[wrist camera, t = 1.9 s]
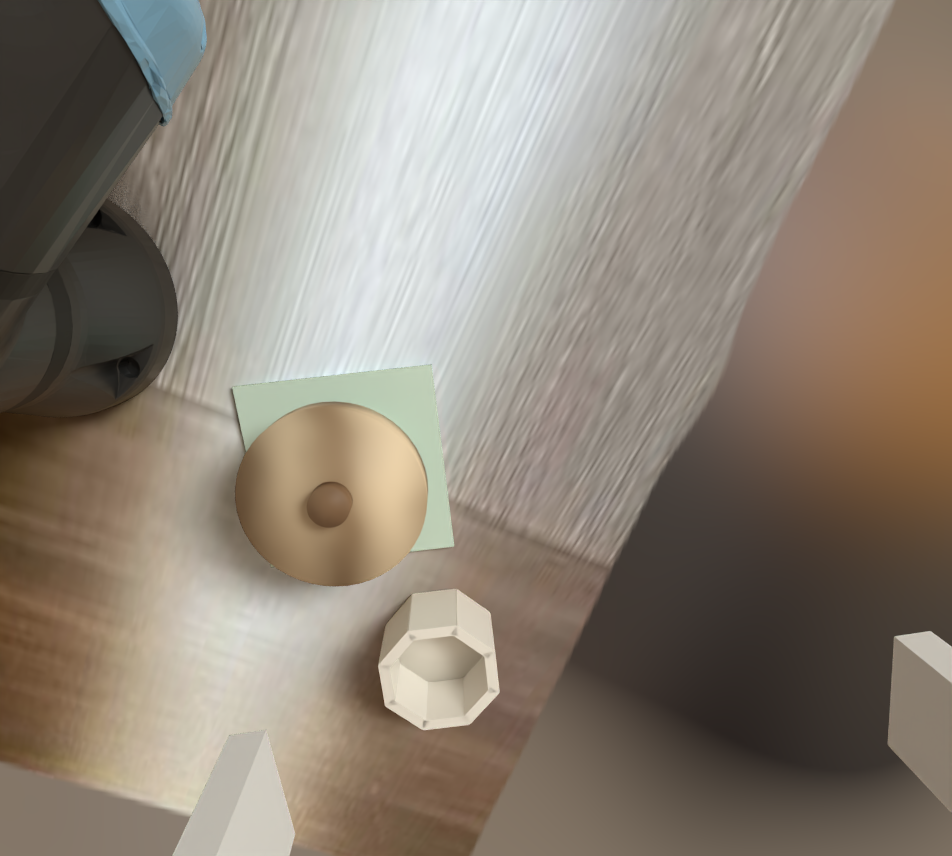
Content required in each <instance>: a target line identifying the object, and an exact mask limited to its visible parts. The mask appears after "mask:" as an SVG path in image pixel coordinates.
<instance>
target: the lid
mask: <svg viewBox="0 0 952 856" xmlns="http://www.w3.org/2000/svg"><path fill="white" fill-rule="evenodd" d="M427 500H428V479H427V475H426V470H425V466H424V463H423V461H422V458H421V456H420V454H419V452H418V450H417V448H416V446H415V445H414V444H413V442H412V441H411V439H410V438H409V437H408V436H407V434H406V433H405V432H404V431H403V430H402V429H401V428H400V427H399V426H397V425H396V424H395V423H394V422H393V421H391V420H390V419H388V418H387V417H385V416H384V415H382V414H380V413H378V412H376V411H374V410H372V409H370V408H367V407H364V406H361V405H357V404H352V403H347V402H336V401H333V402H320V403H314V404H309V405H306V406H303V407H300V408H297V409H295V410H293V411H291V412H289V413H287V414H285V415H284V416H282V417H281V418H279V419H278V420H277V421H275V422H274V423H273V424H272V425H271V426H269V427H268V428H267V429H266V430H265V431H264V432H262V433H261V434H260V435H259V436H258V437H257V438H256V440H255V441H254V442H253V443H252V444H251V446H250V447H249V449H248V450H247V452H246V453H245V455H244V457H243V460H242V462H241V464H240V467H239V470H238V474H237V478H236V486H235V501H236V508H237V513H238V516H239V520H240V523H241V525H242V528H243V530H244V532H245V534H246V536H247V537H248V539H249V541H250V542H251V544H252V545H253V546H254V548H255V549H256V550H257V551H258V552H259V554H260V555H261V556H263V557H264V558H265V559H266V560H267V561H268V562H269V563H270V564H272V565H273V566H274V567H276V568H277V569H279V570H280V571H282V572H284V573H285V574H287V575H289V576H291V577H294V578H296V579H298V580H301V581H305V582H308V583H311V584H317V585H323V586H348V585H353V584H359V583H362V582H366V581H369V580H372V579H374V578H376V577H378V576H381V575H382V574H384V573H386V572H387V571H389V570H391V569H392V568H393V567H394V566H396V565H397V564H398V563H399V562H400V561H401V560H402V559H403V558H404V557H405V556H406V555H407V554H408V553H409V552H410V550H411V549H412V547H413V546H414V545H415V543H416V541H417V539H418V537H419V535H420V533H421V530H422V528H423V525H424V521H425V516H426V510H427Z"/></svg>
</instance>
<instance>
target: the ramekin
mask: <svg viewBox="0 0 952 856" xmlns="http://www.w3.org/2000/svg"><path fill="white" fill-rule="evenodd" d="M378 668H379V674H380V679H381V685H382V691H383V697H384V703H385V706H386V707H387V708H389V709H390V710H392V711H393V712H395V713H397V714H398V715H400V716H401V717H403V718H404V719H406V720H408V721H409V722H411V723H412V724H414V725H416V726H417V727H419V728H420V729H422V730H429V729H438V728H446V727H454V726H462V725H469V724H471V723H472V722H473V721H474V720H475V718H476V717H477V716H478V715H479V714H480V713H481V712H482V711H483V710H484V709H485V708H486V707H487V706H488V705H489V703H490V702H491V701H492V700H493V699H494V698H495V697H496V696H497V695H498V694H499V692H500V691H499V682H498V674H497V665H496V656H495V647H494V639H493V630H492V622H491V614H490V612H489V611H488V610H486V609H485V608H483V607H482V606H480V605H479V604H478V603H476V602H475V601H473V600H472V599H470V598H469V597H468V596H466V595H465V594H463V593H462V592H460V591H459V590H458V589H448V590H440V591H431V592H423V593H414V594H412V595H411V596H410V597H409V598H408V599H407V600H406V602H405V603H404V604H403V605H402V606H401V607H400V609H399V610H398V611H397V612H396V613H395V614H394V616H393V617H392V618H391V619H390V620H389V621H388V623H387V624H386V626H385V631H384V637H383V642H382V648H381V653H380V658H379V664H378Z"/></svg>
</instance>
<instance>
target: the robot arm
mask: <svg viewBox="0 0 952 856" xmlns="http://www.w3.org/2000/svg"><path fill="white" fill-rule="evenodd" d="M206 42H207V38H206V26H205V19H204V16H203V13H202V10H201V8H200V4H199V1H198V0H0V413H2V412H7V413H16V414H26V415H35V416H44V417H74V416H81V415H87V414H91V413H95V412H98V411H101V410H104V409H107V408H109V407H112V406H115V405H117V404H120V403H122V402H124V401H126V400H128V399H130V398H132V397H134V396H135V395H137V394H138V393H140V392H141V391H142V390H144V389H145V388H146V387H147V386H148V385H149V384H150V383H151V382H152V381H153V380H154V379H155V378H156V377H157V375H158V374H159V373H160V371H161V370H162V368H163V367H164V365H165V363H166V362H167V360H168V357H169V355H170V353H171V350H172V348H173V344H174V341H175V336H176V331H177V321H178V310H177V299H176V293H175V288H174V284H173V281H172V278H171V275H170V272H169V270H168V267H167V265H166V263H165V261H164V259H163V257H162V255H161V253H160V251H159V250H158V248H157V246H156V245H155V243H154V242H153V241H152V239H151V238H150V237H149V235H148V234H147V233H146V231H145V230H144V229H143V228H142V227H141V226H140V225H139V224H138V223H137V222H136V221H135V220H134V219H133V218H132V217H131V216H130V215H129V214H127V213H126V212H125V211H124V210H123V209H121V208H120V207H119V206H117V205H116V204H114V203H113V202H111V201H110V200H108V199H107V197H108V196H109V195H110V193H111V192H112V190H113V189H114V187H115V186H116V185H117V183H118V182H119V180H120V179H121V177H122V176H123V175H124V173H125V172H126V170H127V169H128V167H129V166H130V165H131V163H132V162H133V160H134V159H135V158H136V156H137V155H138V153H139V152H140V150H141V149H142V148H143V146H144V145H145V143H146V142H147V140H148V139H149V138H150V136H151V135H152V133H153V132H154V131H155V129H156V128H157V126H158V125H161V126H166V125H167V124H168V123H169V121H170V120H171V117H172V105H173V104H174V102H175V100H176V99H177V97H178V96H179V94H180V92H181V91H182V89H183V88H184V86H185V85H186V83H187V81H188V80H189V78H190V77H191V75H192V73H193V72H194V70H195V69H196V67H197V66H198V64H199V62H200V61H201V59H202V57H203V54H204V51H205V47H206ZM888 746H890V748H891V749H892V750H893V751H894V752H895V753H896V754H897V755H898V756H899V757H900V758H901V759H902V761H903V762H904V763H905V764H906V765H907V766H908V767H909V768H910V769H911V770H912V771H913V772H914V773H915V774H916V776H917V777H918V778H919V779H921V781H922V782H923V783H924V784H925V785H926V786H927V787H928V788H929V789H930V790H931V792H932V793H933V794H934V795H935V796H936V797H937V798H938V799H939V800H940V801H941V802H942V803H943V804H944V805H945V806H946V808H947V809H948V810H949V811H950V812H951V813H952V647H951V646H950V645H948V644H947V643H946V642H944V641H943V640H942V639H940V638H939V637H938V636H936V635H935V634H933V633H932V632H931V631H928V632H922V633H915V634H908V635H902V636H895V637H894V650H893V666H892V683H891V699H890V717H889V733H888ZM294 836H295V832H294V828H293V825H292V821H291V817H290V814H289V810H288V806H287V803H286V799H285V796H284V792H283V788H282V785H281V781H280V777H279V774H278V770H277V767H276V763H275V759H274V756H273V752H272V748H271V745H270V741H269V738H268V734H267V730H261V731H254V732H248V733H241V734H234V735H229V737H228V739H227V741H226V743H225V745H224V747H223V749H222V752H221V754H220V756H219V758H218V760H217V762H216V764H215V766H214V768H213V771H212V773H211V775H210V777H209V779H208V781H207V783H206V785H205V788H204V790H203V792H202V794H201V796H200V798H199V800H198V802H197V804H196V807H195V809H194V811H193V813H192V815H191V817H190V819H189V821H188V824H187V826H186V828H185V830H184V832H183V834H182V836H181V838H180V840H179V843H178V845H177V847H176V849H175V851H174V853H173V855H172V856H289V855H290V851H291V847H292V844H293V840H294Z"/></svg>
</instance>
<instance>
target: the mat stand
mask: <svg viewBox="0 0 952 856" xmlns="http://www.w3.org/2000/svg"><path fill="white" fill-rule="evenodd" d="M232 389H233V394H234V399H235V403H236V408H237V413H238V417H239V422H240V427H241V431H242V436H243V440H244V445H245V450H246V452H247V450H248V449H249V447H250V446H251V444H252V443H253V442H254V441H255V440H256V438H257V437H258V436H259V435H260V434H261V433H262V432H264V431H265V430H266V429H267V428H268V427H269V426H271V425H272V424H273V423H274V422H275V421H277V420H278V419H279V418H281V417H282V416H284V415H285V414H287V413H289V412H291V411H293V410H295V409H297V408H300V407H303V406H306V405H309V404H314V403H320V402H333V401H336V402H347V403H352V404H357V405H361V406H364V407H367V408H370V409H372V410H374V411H376V412H378V413H380V414H382V415H384V416H385V417H387V418H388V419H390V420H391V421H393V422H394V423H395V424H396V425H397V426H399V427H400V428H401V429H402V430H403V431H404V432H405V433H406V434H407V436H408V437H409V438H410V439H411V441H412V442H413V444H414V445H415V446H416V448H417V450H418V452H419V454H420V456H421V458H422V461H423V463H424V466H425V470H426V475H427V479H428V500H427V510H426V516H425V521H424V525H423V528H422V530H421V533H420V535H419V537H418V539H417V541H416V543H415V545H414V546H413V547H412V549H411V550H410V552H411V551H420V550H428V549H437V548H446V547H454V540H453V532H452V524H451V516H450V508H449V500H448V492H447V484H446V476H445V468H444V460H443V452H442V445H441V437H440V429H439V421H438V413H437V405H436V397H435V389H434V381H433V373H432V365H422V366H413V367H404V368H395V369H386V370H377V371H368V372H359V373H350V374H341V375H332V376H323V377H314V378H305V379H296V380H287V381H278V382H269V383H260V384H251V385H242V386H234V387H232ZM270 566H271V568H273V567H274V566H273V565H272V564H270Z"/></svg>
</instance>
